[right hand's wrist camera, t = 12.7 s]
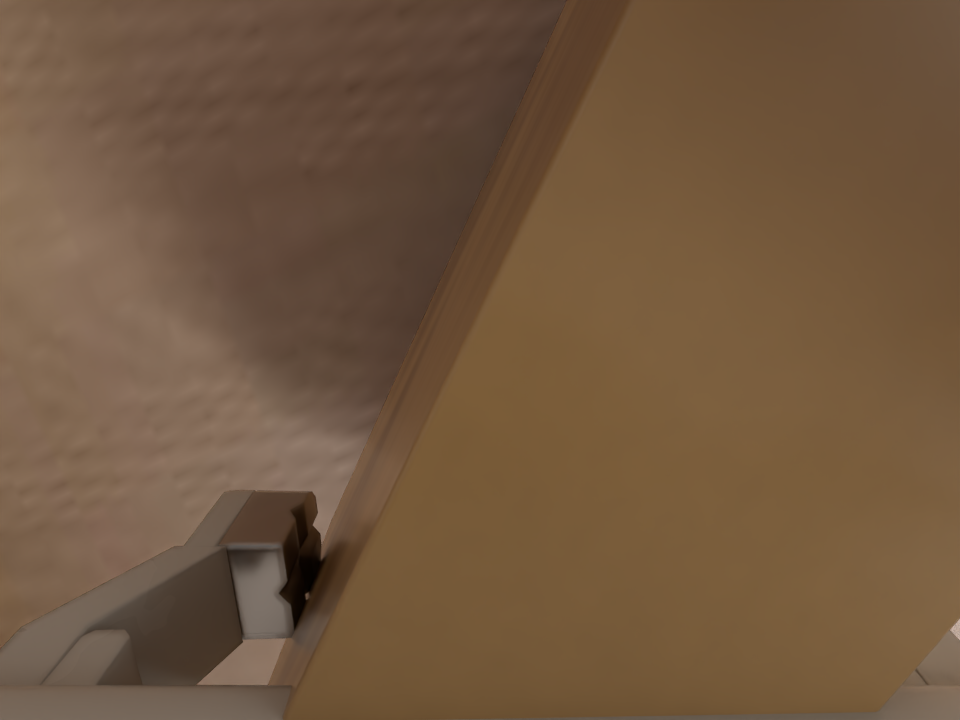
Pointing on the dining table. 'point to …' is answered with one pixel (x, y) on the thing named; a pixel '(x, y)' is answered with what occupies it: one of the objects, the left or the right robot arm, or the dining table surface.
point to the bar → (673, 388)
